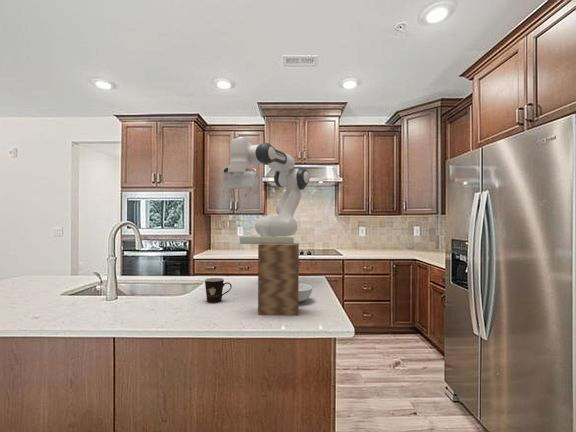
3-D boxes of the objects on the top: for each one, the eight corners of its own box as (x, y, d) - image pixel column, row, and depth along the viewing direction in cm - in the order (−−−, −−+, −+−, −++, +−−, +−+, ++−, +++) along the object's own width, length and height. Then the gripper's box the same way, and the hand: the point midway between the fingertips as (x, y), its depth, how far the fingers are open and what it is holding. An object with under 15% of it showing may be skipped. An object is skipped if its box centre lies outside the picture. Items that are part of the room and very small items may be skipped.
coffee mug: (200, 302, 161) (200, 280, 161) (212, 298, 169) (213, 277, 169) (220, 305, 156) (221, 282, 156) (232, 301, 163) (232, 279, 163)
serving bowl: (309, 308, 152) (309, 292, 152) (262, 305, 156) (262, 289, 156) (315, 297, 173) (315, 283, 173) (273, 295, 177) (273, 281, 177)
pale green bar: (239, 243, 145) (239, 237, 145) (241, 243, 149) (241, 236, 149) (293, 244, 144) (293, 237, 144) (293, 243, 148) (293, 236, 148)
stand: (258, 314, 142) (258, 244, 141) (261, 308, 152) (261, 242, 151) (298, 315, 141) (298, 245, 141) (298, 308, 151) (298, 243, 151)
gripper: (261, 168, 168) (260, 197, 168) (228, 171, 179) (228, 198, 179) (252, 167, 162) (252, 197, 163) (219, 170, 173) (219, 198, 173)
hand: (239, 198), depth 171 cm, fingers open, 8 cm apart
